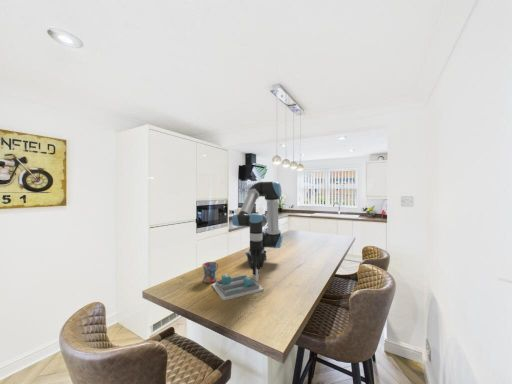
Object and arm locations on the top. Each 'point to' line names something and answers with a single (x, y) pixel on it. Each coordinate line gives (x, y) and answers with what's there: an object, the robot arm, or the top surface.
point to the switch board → (235, 288)
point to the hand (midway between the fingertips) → (256, 279)
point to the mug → (210, 272)
